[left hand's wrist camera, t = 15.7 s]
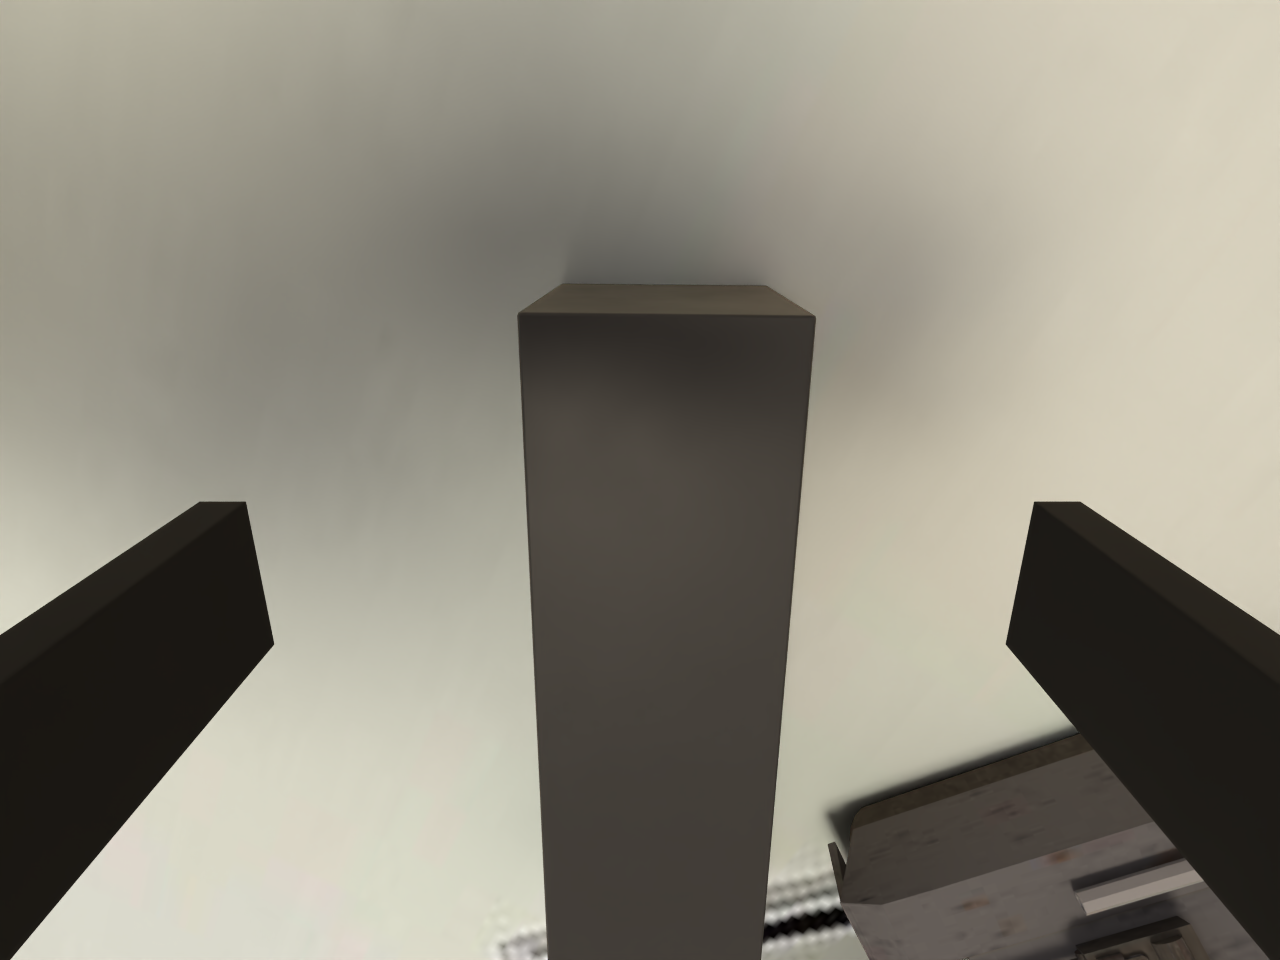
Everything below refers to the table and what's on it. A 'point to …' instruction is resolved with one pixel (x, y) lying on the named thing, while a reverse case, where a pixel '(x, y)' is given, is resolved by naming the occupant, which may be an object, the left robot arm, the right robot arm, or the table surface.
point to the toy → (1028, 871)
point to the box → (661, 605)
